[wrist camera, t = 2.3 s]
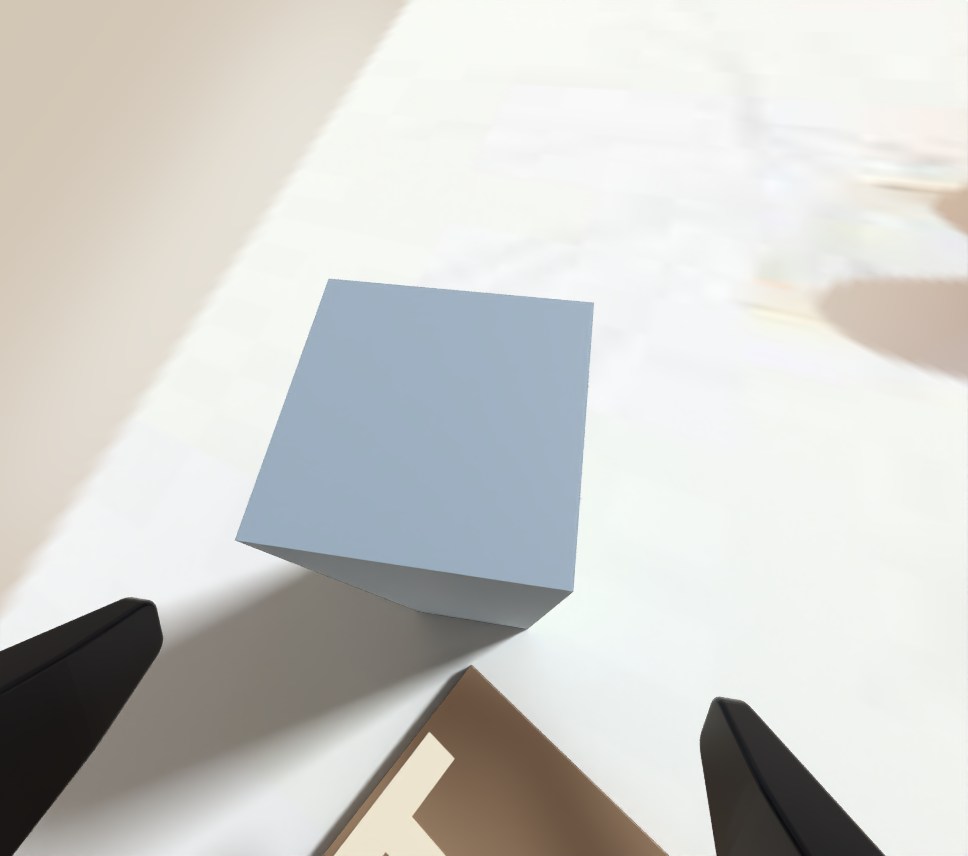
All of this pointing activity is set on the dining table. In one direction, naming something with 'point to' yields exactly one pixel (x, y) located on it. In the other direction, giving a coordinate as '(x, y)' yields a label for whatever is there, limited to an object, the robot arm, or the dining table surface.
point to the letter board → (487, 792)
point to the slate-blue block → (433, 450)
